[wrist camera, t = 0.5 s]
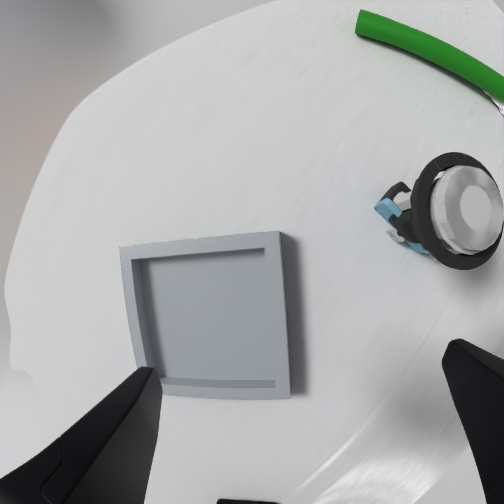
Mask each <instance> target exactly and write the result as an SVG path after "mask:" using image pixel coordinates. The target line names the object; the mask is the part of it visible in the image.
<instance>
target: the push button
mask: <svg viewBox="0 0 504 504" xmlns="http://www.w3.org/2000/svg"><path fill="white" fill-rule="evenodd" d="M441 171H445V172H444V173H443V175H442V176H441V177H440V178H438V179H436V180H434V178H435V177H436V176H437V174H438V173H439V172H441ZM374 209H375V210H376V211H377V212H378V213H379V214H380V215H381V216H382V217H383V218H384V219H385V220H386V221H387V222H388V223H389V224H390V225H391V226H392V227H393V228H394V229H393V230H392V231H391V230H390V231H387V233H388V235H389V236H390V237H391V238H392V239H393V240H394V241H395V242H403V241H404V240H405V241H406V242H407V243H408V244H409V245H410V247H411V248H412V249H413V250H414V251H415V252H418V253H425V254H429V255H430V257H431V258H432V259H433V260H434V261H435V262H437V261H439V262H440V263H442V264H444V265H446V266H448V267H450V268H454V269H459V270H470V269H474V268H477V267H479V266H481V265H482V264H484V263H485V262H486V261H487V260H488V259H489V258H490V257H491V256H492V255H493V253H494V252H495V250H496V249H497V247H498V244H499V242H500V239H501V236H502V232H503V226H504V209H503V202H502V198H501V194H500V192H499V189H498V186H497V184H496V182H495V180H494V179H493V177H492V175H491V174H490V173H489V171H488V170H487V169H486V168H485V167H484V166H483V165H482V164H481V163H480V162H479V161H477V160H476V159H474V158H473V157H471V156H469V155H466V154H463V153H458V152H450V153H445V154H442V155H440V156H438V157H436V158H435V159H433V160H432V161H431V162H429V163H428V164H427V165H426V167H425V168H424V169H423V171H422V172H421V174H420V176H419V178H418V179H417V180H416V182H415V185H414V188H413V190H412V191H411V190H410V189H409V188H408V187H407V186H406V184H404V183H403V182H399V183H397V184H396V185H394V186H392V187H391V188H390V189H389V190H388V191H387V193H386V194H385V195H384V196H383V197H382V199H381V200H380V201H379V202H378V203H377V204H376V206H375V207H374ZM392 235H393V236H394V237H395V238H394V237H393V236H392ZM446 248H449V249H454V250H456V251H458V252H460V254H457V255H455V254H453V253H451V252H450V251H448V250H447V249H446Z"/></svg>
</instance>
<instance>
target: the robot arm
mask: <svg viewBox="0 0 504 504" xmlns="http://www.w3.org/2000/svg"><path fill="white" fill-rule="evenodd" d="M442 368H443V371H444V373H445V376H446V379H447V383H448V386H449V389H450V392H451V395H452V398H453V402H454V404H455V407H456V409H457V412H458V414H459V417H460V420H461V422H462V425H463V427H464V430H465V433H466V435H467V438H468V441H469V444H470V447H471V449H472V453H473V456H474V459H475V462H476V465H477V468H478V472H479V475H480V479H481V482H482V486H483V490H484V494H485V498H486V502H487V504H504V360H503V359H501V358H499V357H497V356H495V355H493V354H491V353H489V352H487V351H485V350H483V349H481V348H479V347H477V346H475V345H473V344H471V343H469V342H467V341H465V340H463V339H460V338H459V339H455V340H452V341H450V342H449V344H448V346H447V349H446V351H445V354H444V356H443V358H442ZM162 393H163V390H162V385H161V382H160V379H159V376H158V373H157V371H156V369H155V368H154V367H147V366H141V367H139V368H138V369H137V370H136V371H135V372H134V373H132V374H131V375H130V376H129V377H128V378H127V379H126V380H124V381H123V382H122V383H121V384H120V385H119V386H118V387H116V388H115V389H114V390H113V391H112V392H111V393H110V394H108V395H107V396H106V397H105V398H104V399H103V400H101V401H100V402H99V403H98V404H97V405H96V406H95V407H93V408H92V409H91V410H90V411H89V412H88V413H86V414H85V415H84V416H83V417H82V418H81V419H79V420H78V421H77V422H76V423H75V424H74V425H72V426H71V427H70V428H69V429H68V430H67V431H65V432H64V433H63V434H62V435H61V436H60V437H58V438H57V439H56V440H55V441H54V442H52V443H51V444H50V445H49V446H48V447H46V448H45V449H44V450H43V451H41V452H40V453H39V454H38V455H36V456H34V457H33V458H32V459H30V460H29V461H27V462H26V463H24V464H23V465H21V466H20V467H18V468H17V469H15V470H13V471H12V472H10V473H9V474H7V475H6V476H4V477H2V478H1V479H0V504H144V500H145V494H146V489H147V484H148V480H149V475H150V470H151V465H152V461H153V456H154V452H155V447H156V443H157V437H158V429H159V420H160V410H161V402H162ZM217 504H276V503H264V502H245V501H233V500H224V499H219V500H217Z"/></svg>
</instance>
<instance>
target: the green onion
mask: <svg viewBox="0 0 504 504" xmlns="http://www.w3.org/2000/svg"><path fill="white" fill-rule="evenodd" d="M355 33H356V34H359V35H362V36H366V37H369V38H372V39H375V40H379V41H382V42H385V43H388V44H391V45H394V46H397V47H399V48H402V49H404V50H407V51H409V52H411V53H413V54H416V55H418V56H420V57H422V58H424V59H426V60H429V61H431V62H433V63H435V64H437V65H439V66H441V67H443V68H445V69H447V70H449V71H451V72H453V73H455V74H456V75H458V76H460V77H462V78H464V79H466V80H467V81H469V82H471V83H472V84H474V85H476V86H477V87H479V88H481V89H482V90H483V92H484V93H485V94H486V95H487V96H490V98H491V99H492V100H493V101H494V103H495V104H496V105H497V106H498V107H499V110H500V112H501V114H502V115H503V116H504V77H503V76H502V75H500V74H499V73H497V72H496V71H494V70H493V69H491V68H490V67H488V66H487V65H485V64H483V63H482V62H480V61H478V60H477V59H475V58H473V57H472V56H470V55H468V54H466V53H465V52H463V51H461V50H459V49H457V48H455V47H453V46H451V45H450V44H448V43H446V42H444V41H442V40H439V39H437V38H435V37H433V36H431V35H429V34H426V33H424V32H422V31H419V30H417V29H414V28H411V27H409V26H407V25H404V24H401V23H399V22H396V21H394V20H391V19H389V18H386V17H383V16H380V15H378V14H375V13H371V12H368V11H365V10H360V12H359V16H358V19H357V24H356V29H355Z"/></svg>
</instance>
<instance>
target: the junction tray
mask: <svg viewBox="0 0 504 504" xmlns="http://www.w3.org/2000/svg"><path fill="white" fill-rule="evenodd" d="M119 250H120V261H121V271H122V280H123V288H124V296H125V303H126V310H127V316H128V323H129V328H130V334H131V340H132V345H133V350H134V355H135V360H136V364H137V369H138V368H139V367H141V366H147V367H154V368H155V369H156V371H157V373H158V376H159V379H160V382H161V385H162V390H163V393H162V394H165V395H174V396H184V397H197V398H212V399H239V400H272V399H290V395H291V375H290V357H289V340H288V325H287V310H286V296H285V283H284V270H283V258H282V247H281V235H280V231H269V232H258V233H248V234H238V235H227V236H217V237H208V238H198V239H188V240H179V241H170V242H161V243H152V244H143V245H134V246H126V247H119Z"/></svg>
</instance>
